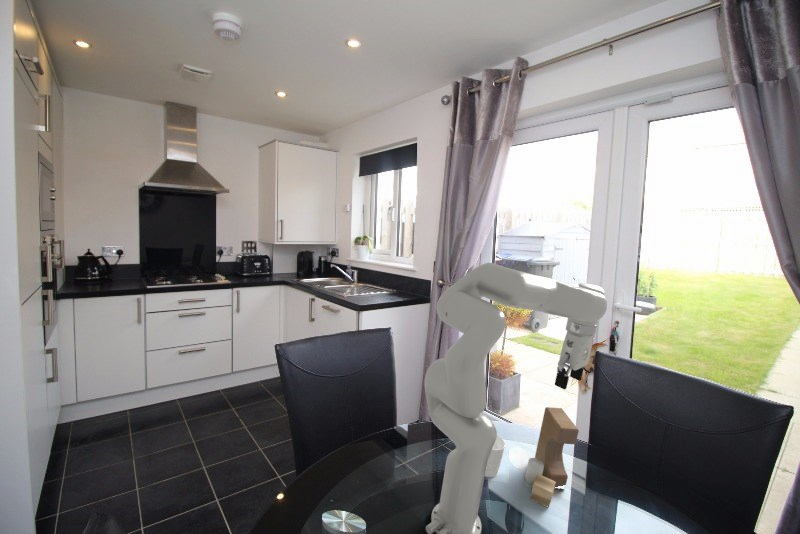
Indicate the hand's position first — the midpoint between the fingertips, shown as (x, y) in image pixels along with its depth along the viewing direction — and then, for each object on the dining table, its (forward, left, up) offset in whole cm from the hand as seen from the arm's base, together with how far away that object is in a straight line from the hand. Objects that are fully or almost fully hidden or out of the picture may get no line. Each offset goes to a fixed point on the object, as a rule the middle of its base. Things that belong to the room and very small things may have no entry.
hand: (567, 382), depth 114 cm
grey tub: (-7, +1, -31) cm, 32 cm away
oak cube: (-11, -4, -31) cm, 33 cm away
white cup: (-15, +12, -31) cm, 37 cm away
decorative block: (-1, -1, -31) cm, 31 cm away
